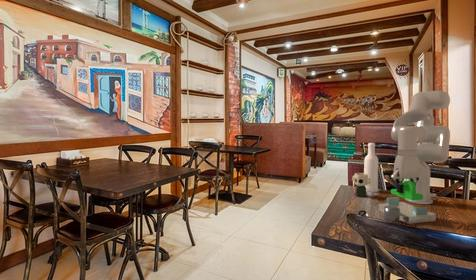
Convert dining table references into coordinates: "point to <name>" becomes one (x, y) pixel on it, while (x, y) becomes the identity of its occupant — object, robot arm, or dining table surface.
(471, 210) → the dining table surface
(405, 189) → the mechanical part
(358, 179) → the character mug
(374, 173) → the bottle
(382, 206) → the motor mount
